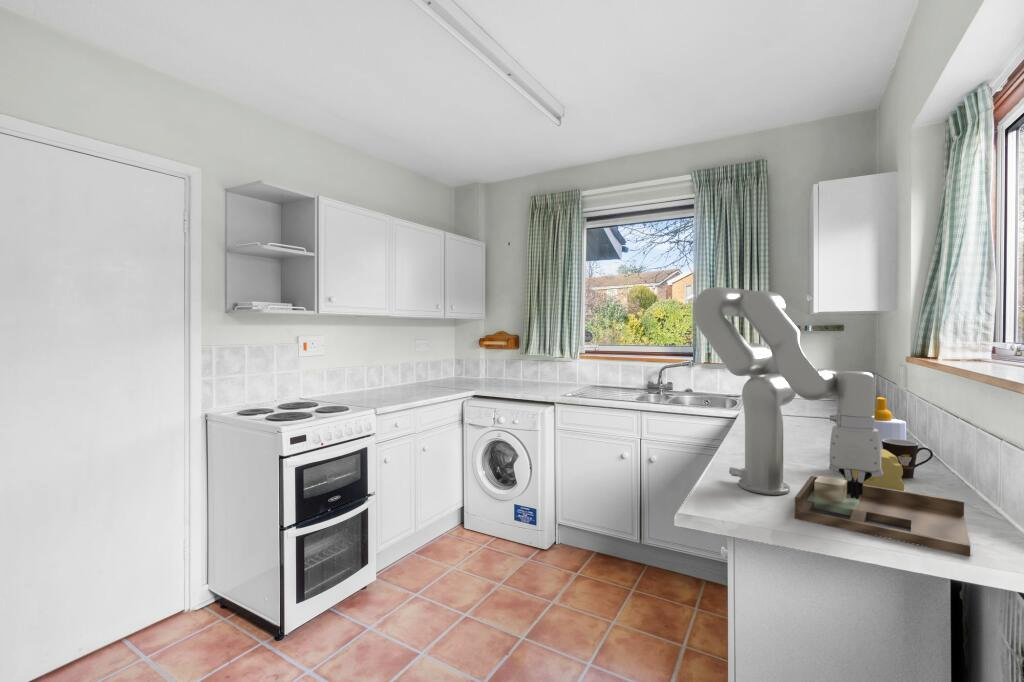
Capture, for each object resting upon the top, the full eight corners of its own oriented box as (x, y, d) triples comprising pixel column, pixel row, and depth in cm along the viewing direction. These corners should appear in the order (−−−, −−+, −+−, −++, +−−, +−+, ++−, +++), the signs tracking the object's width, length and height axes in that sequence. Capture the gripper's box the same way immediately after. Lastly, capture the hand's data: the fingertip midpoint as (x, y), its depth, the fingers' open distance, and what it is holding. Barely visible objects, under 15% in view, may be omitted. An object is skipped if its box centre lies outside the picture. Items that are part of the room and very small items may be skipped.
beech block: (814, 497, 122) (814, 481, 122) (818, 491, 127) (819, 475, 127) (842, 502, 118) (843, 486, 118) (846, 496, 123) (846, 480, 123)
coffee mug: (879, 475, 146) (879, 442, 146) (884, 469, 152) (884, 437, 152) (929, 483, 138) (930, 448, 138) (933, 477, 144) (933, 443, 144)
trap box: (794, 518, 114) (794, 497, 114) (810, 494, 130) (810, 475, 130) (970, 556, 95) (970, 530, 94) (963, 522, 111) (963, 500, 110)
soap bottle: (904, 458, 165) (904, 398, 164) (907, 463, 158) (908, 401, 157) (856, 453, 172) (856, 395, 171) (857, 458, 165) (858, 398, 164)
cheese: (904, 495, 129) (905, 457, 129) (859, 492, 131) (859, 456, 131) (883, 483, 139) (883, 448, 139) (841, 481, 141) (841, 446, 141)
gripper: (816, 421, 120) (816, 494, 121) (893, 428, 111) (893, 508, 111) (821, 416, 126) (821, 487, 126) (895, 423, 116) (894, 499, 117)
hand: (855, 496), depth 119 cm, fingers closed
